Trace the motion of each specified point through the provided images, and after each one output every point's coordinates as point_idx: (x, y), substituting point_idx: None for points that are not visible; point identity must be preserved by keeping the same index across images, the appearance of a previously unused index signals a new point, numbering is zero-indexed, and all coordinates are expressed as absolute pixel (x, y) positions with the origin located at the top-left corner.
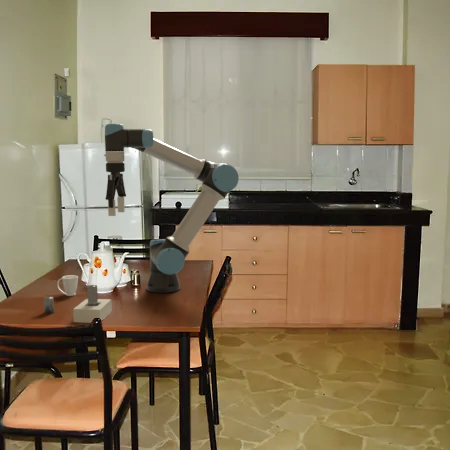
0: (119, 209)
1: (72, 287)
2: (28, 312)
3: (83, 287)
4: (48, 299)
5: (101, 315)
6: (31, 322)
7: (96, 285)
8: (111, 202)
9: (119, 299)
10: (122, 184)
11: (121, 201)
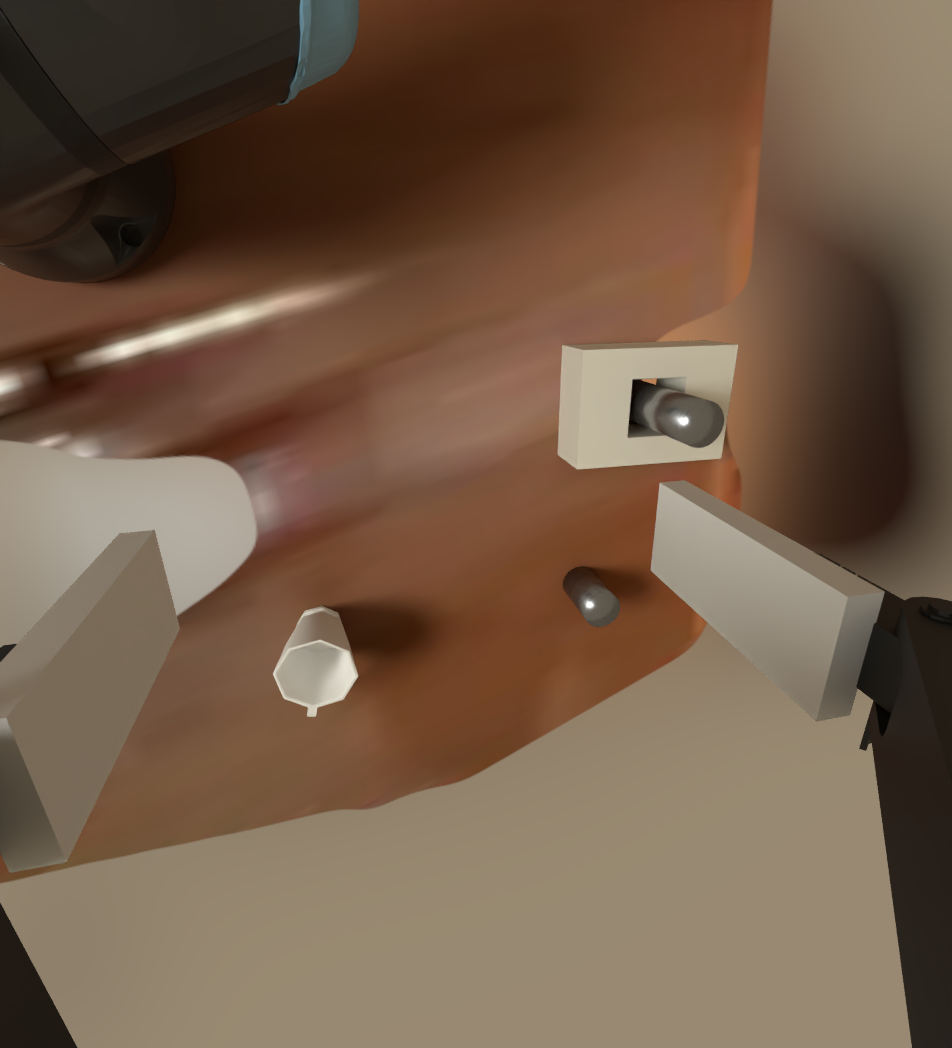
0: (158, 628)
1: (340, 628)
2: (579, 646)
3: None
4: (617, 601)
5: (703, 342)
6: None
7: (692, 408)
8: (882, 602)
9: (357, 377)
10: None
11: (83, 687)
